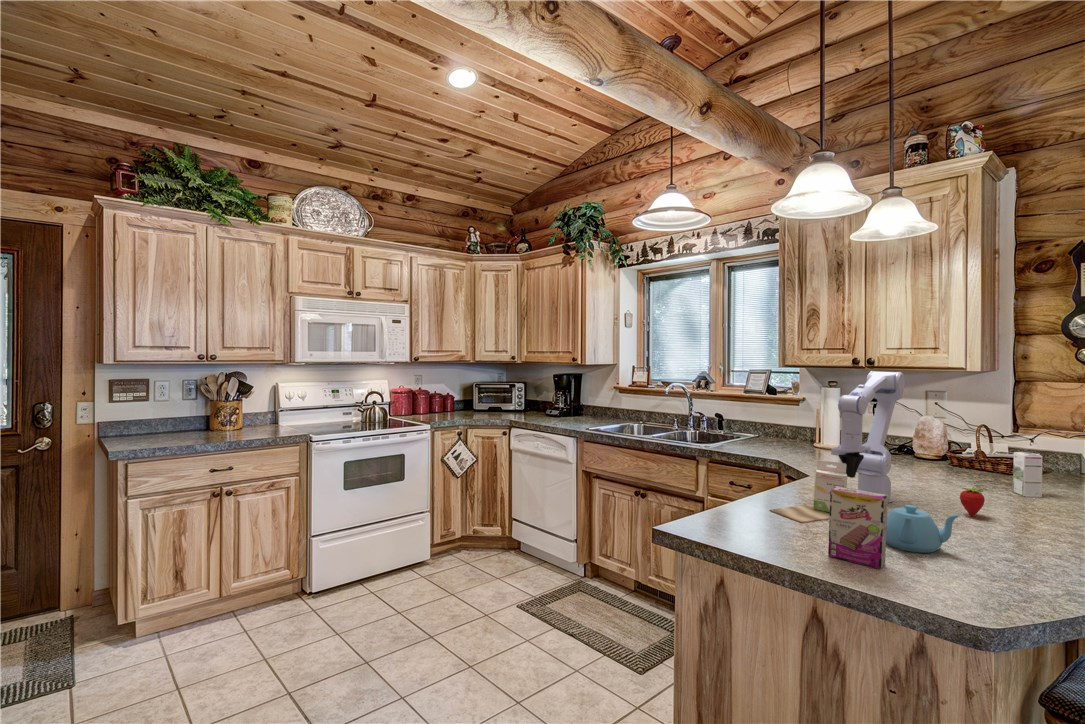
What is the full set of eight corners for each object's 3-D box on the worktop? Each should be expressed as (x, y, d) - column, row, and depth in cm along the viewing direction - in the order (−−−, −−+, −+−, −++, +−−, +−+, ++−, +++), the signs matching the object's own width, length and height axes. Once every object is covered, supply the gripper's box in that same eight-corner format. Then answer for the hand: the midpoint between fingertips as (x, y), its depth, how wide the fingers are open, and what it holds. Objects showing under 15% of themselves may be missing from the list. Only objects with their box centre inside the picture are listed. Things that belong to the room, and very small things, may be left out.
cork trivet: (804, 506, 168) (804, 505, 168) (837, 518, 157) (837, 516, 157) (769, 511, 164) (769, 509, 163) (801, 523, 152) (801, 521, 152)
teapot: (915, 535, 143) (916, 497, 143) (964, 557, 128) (965, 514, 128) (863, 536, 142) (864, 498, 142) (906, 558, 127) (907, 515, 127)
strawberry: (957, 516, 160) (958, 483, 160) (960, 511, 165) (961, 479, 165) (982, 521, 156) (983, 487, 155) (985, 515, 161) (986, 482, 161)
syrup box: (1042, 497, 181) (1044, 455, 181) (1022, 496, 183) (1024, 454, 182) (1031, 493, 187) (1032, 452, 187) (1011, 492, 188) (1012, 451, 188)
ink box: (813, 509, 164) (816, 461, 164) (813, 505, 168) (816, 459, 168) (845, 514, 160) (848, 465, 160) (844, 511, 164) (847, 463, 164)
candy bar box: (827, 557, 127) (829, 489, 127) (832, 551, 131) (834, 485, 131) (882, 570, 120) (884, 498, 120) (886, 564, 124) (888, 493, 123)
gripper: (856, 430, 173) (855, 472, 173) (823, 432, 168) (822, 475, 168) (877, 434, 166) (876, 477, 167) (843, 436, 161) (842, 480, 162)
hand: (850, 476), depth 167 cm, fingers closed
